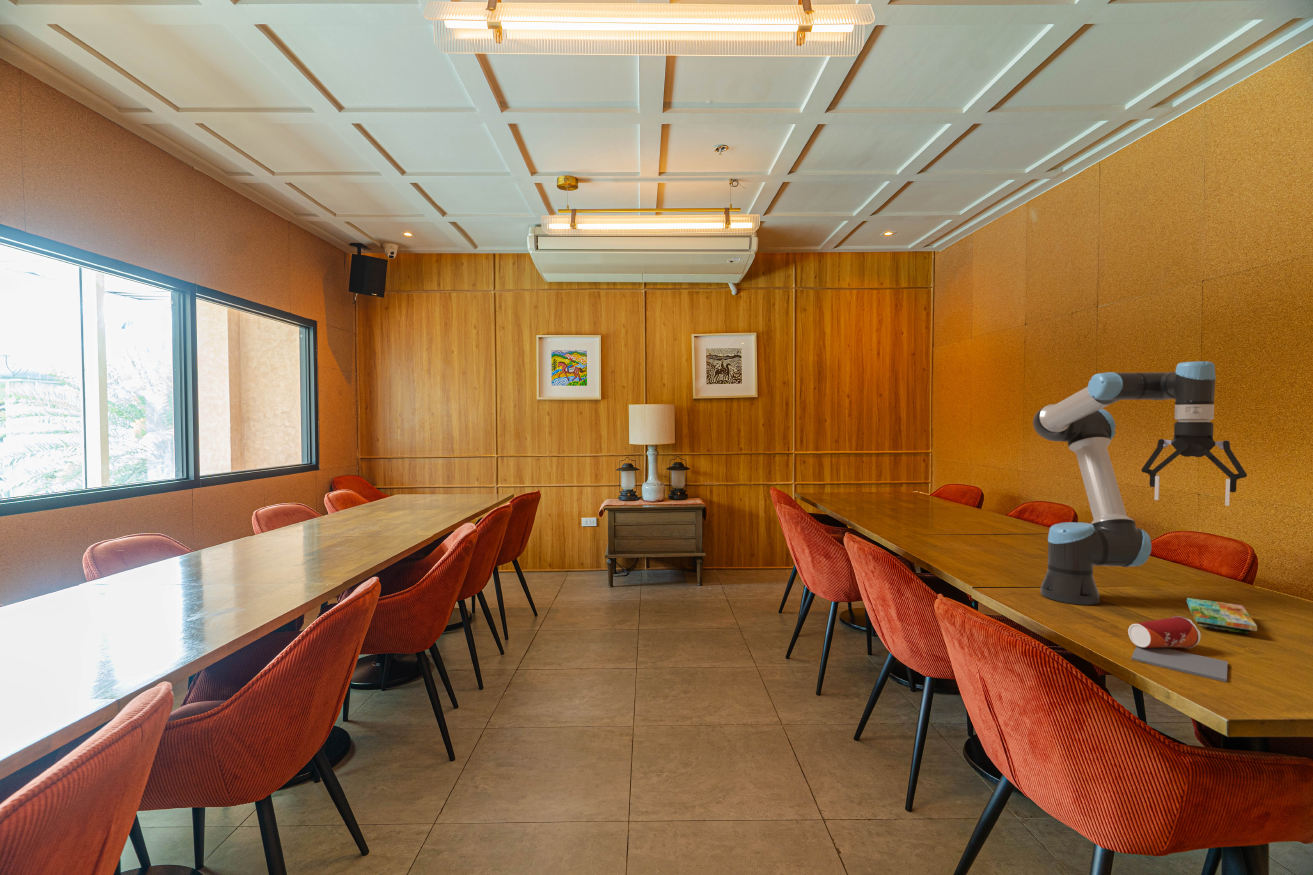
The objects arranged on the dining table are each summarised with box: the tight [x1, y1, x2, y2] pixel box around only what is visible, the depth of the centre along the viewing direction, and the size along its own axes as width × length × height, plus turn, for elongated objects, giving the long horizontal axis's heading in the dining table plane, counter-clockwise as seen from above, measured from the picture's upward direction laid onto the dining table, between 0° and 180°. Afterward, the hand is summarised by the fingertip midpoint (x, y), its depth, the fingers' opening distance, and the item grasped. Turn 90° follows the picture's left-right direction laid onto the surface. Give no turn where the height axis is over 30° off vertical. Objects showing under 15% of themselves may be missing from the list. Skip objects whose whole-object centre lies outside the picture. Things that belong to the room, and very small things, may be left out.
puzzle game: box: [1186, 597, 1258, 635], centre depth 161 cm, size 12×5×20 cm
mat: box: [1130, 645, 1228, 683], centre depth 135 cm, size 16×13×1 cm
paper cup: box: [1127, 615, 1202, 649], centre depth 143 cm, size 8×8×14 cm
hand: (1190, 502), depth 152 cm, fingers open, 13 cm apart
